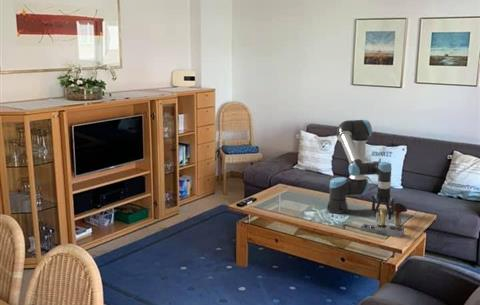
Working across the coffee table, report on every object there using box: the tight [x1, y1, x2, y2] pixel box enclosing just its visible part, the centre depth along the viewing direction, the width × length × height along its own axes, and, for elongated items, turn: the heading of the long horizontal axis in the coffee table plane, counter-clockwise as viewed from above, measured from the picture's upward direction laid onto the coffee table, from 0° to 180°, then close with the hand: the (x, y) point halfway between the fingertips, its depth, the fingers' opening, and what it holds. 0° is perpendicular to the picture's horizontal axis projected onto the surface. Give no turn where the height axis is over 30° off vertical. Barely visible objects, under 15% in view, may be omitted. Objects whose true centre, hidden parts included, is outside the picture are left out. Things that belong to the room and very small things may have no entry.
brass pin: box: [378, 208, 387, 228], centre depth 308 cm, size 4×4×15 cm
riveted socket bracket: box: [360, 222, 405, 238], centre depth 309 cm, size 25×7×5 cm, turn 57°
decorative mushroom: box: [390, 202, 408, 227], centre depth 319 cm, size 11×11×15 cm
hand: (382, 223), depth 308 cm, fingers open, 6 cm apart
